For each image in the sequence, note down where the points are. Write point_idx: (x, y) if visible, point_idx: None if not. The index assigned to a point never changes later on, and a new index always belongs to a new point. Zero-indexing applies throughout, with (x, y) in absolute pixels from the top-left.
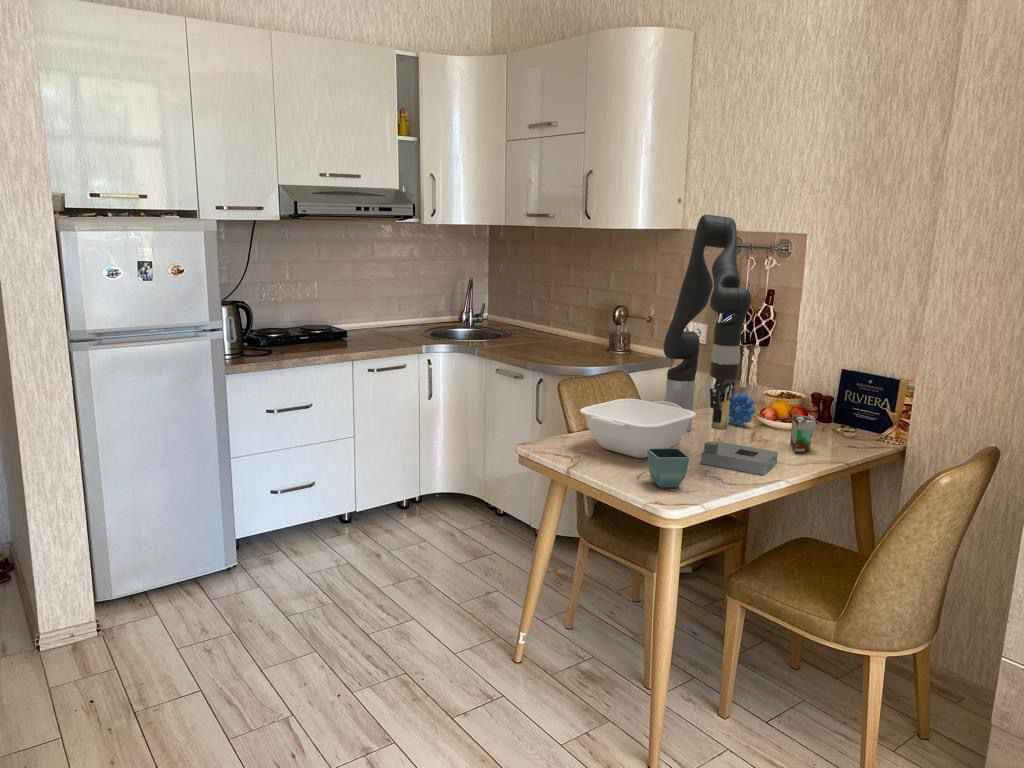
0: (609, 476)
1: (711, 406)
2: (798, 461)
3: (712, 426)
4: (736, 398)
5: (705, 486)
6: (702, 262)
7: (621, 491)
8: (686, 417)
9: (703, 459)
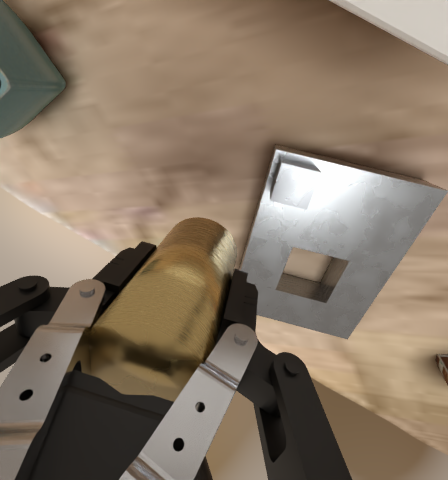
0: None
1: (13, 288)
2: (367, 352)
3: (175, 226)
4: None
5: (92, 178)
6: None
7: None
8: (418, 26)
9: (273, 153)
